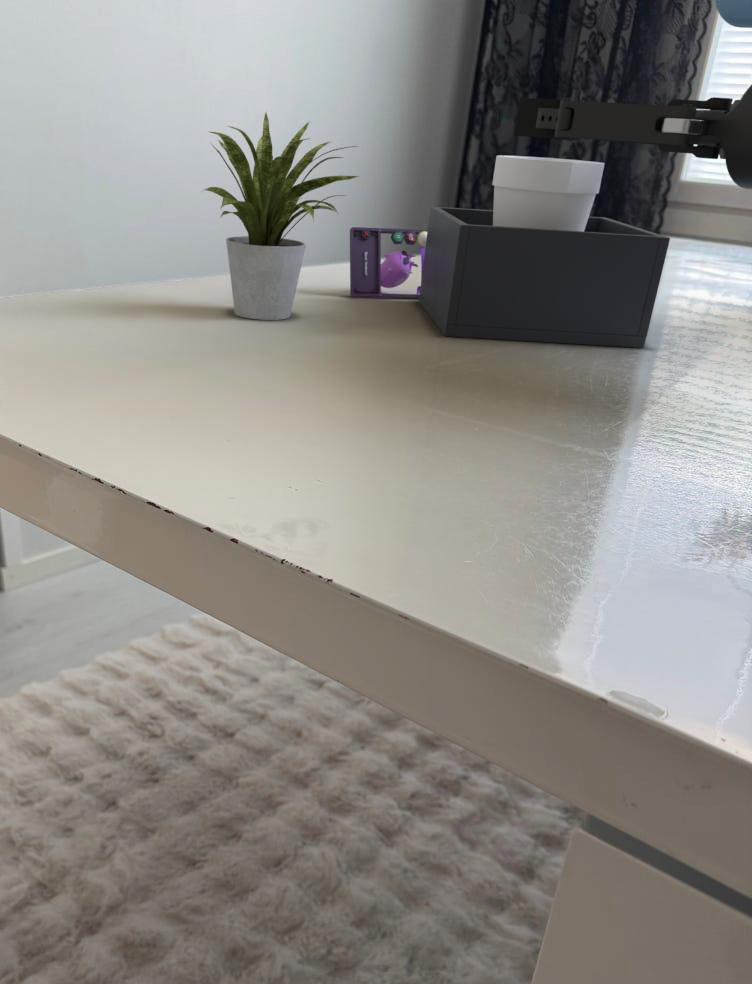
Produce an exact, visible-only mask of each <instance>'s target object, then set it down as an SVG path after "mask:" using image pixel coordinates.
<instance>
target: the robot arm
mask: <svg viewBox="0 0 752 984" xmlns="http://www.w3.org/2000/svg"><path fill="white" fill-rule="evenodd" d="M714 3H715V7H716V8H715V9H716V10H717V12H718V14H719V16H720V17H721V18H722V19H723V21H724V22H726V23H727V24H728V25H730V26H732V27H735V28H741V29H743V28H745V29H752V0H714ZM582 95H583V90H582V89H573V93H572V97H571V98H568V97H567V98H565V99H564V98H563V99H562V98H561V99H560V98H532V97H531V98H530V97H520V98H519V100H518V105H517V111H516V112H517V113H516V118H515V125H514V130H513V136H514V137H528V138H539V139H540V138H542V139H555V140H556V139H557V140H562V141H566V140H569V141H579V140H593V141H607V142H620V143H621V142H624V143H627V144H628V143H630V144H641V145H642V144H643V145H657V147H658V149H659V150H660V151H661V152H665V153H677V154H678V153H679V154H691V155H693V156H694V157H695V158H697V159H710V160H719V159H720V160H725V166H726V169H727V172H728V175H729V177H730V179H731V180H732V181H733V183H734V184H735V185H737V186H738V187H740V188H742V189H745V190H750V191H751V190H752V84H750V86H749V87H748V88H747V90H746V91H745V92H744V93H743V94H742V96H741V98H740V99H734V98H731V97H710V98H708V99H706V100H695V99H680V98H679V99H677V98H675V99H671V100H670V101H669V102H668V103H667V104H665V105H664V104H663V105H662V104H642V103H641V104H640V103H624V102H623V103H621V102H605V101H603V102H601V101H587V100H586V99H585V100H584V99H582ZM733 100H734V101H733Z"/></svg>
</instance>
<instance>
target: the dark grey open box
mask: <svg viewBox="0 0 752 984" xmlns="http://www.w3.org/2000/svg"><path fill="white" fill-rule="evenodd" d="M427 225H428V226H427V230H428V232H427V239H426V247H425V255H424V263H423V271H422V279H421V278H420V286H421V287H420V293H419V294H420V295H419V298H418V302H419V304H420V305H421V306H422V307H423V309H424V310H425V311H426V313H427V314H428V316H429V318H431V320H432V321H433V322H434V324H435V325H436V326H437V327H438V329H439V331H440V332H441V333H442V334H443V335H444V336H445V337H451V338H452V337H453V338H467V339H468V338H469V339H470V338H471V339H485V340H503V341H519V342H535V343H536V342H537V343H551V344H552V343H553V344H570V345H587V346H602V347H616V348H617V347H618V348H636V349H644V348H645V345H646V340H647V336H648V332H649V328H650V323H651V319H652V315H653V312H654V307H655V303H656V300H657V299H656V298H657V294H658V290H659V286H660V282H661V278H662V274H663V269H664V266H665V261H666V257H667V253H668V250H669V246H670V240H671V237H669V236H665V235H662V234H659V233H656V232H653V231H649V230H646V229H643V228H641V227H637V226H634V225H631V224H628V223H625V222H621V221H619V220H615V219H613V218H609V217H606V216H605V217H603V216H589V218H588V221H587V224H586V227H585V230H584V232H582V231H566V230H550V229H534V228H518V227H502V226H493V209H492V210H491V209H476V208H461V207H444V206H430V210H429V217H428V223H427Z"/></svg>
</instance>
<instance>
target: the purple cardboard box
mask: <svg viewBox="0 0 752 984" xmlns="http://www.w3.org/2000/svg"><path fill="white" fill-rule="evenodd" d="M427 232H428V229H412V228H411V229H410V228H386V227H385V228H384V227H357V226H352V227H351V228H349V288H350V289H349V293H350V294H349V295H350V297H352V298H382V299H383V298H387V299H388V298H390V299H419V295H420V287H421V285H418V286H417V287H416V288H417V289H416V293H382V288H386V289H392V288H396V287H398V286H400V285H402V284H404V283H405V282H406V281H407V280H408V279H409V277H410V275H411V274H413V273H414V272H413V271H412V268H413V267H415V268H419V265H418V264H417V263H416V262H414V261H412V260H411V259H412V258H416V255H415V254H413V252H409V253H408V251H406V250H395V251H393V252H391V253H389V254H385V253H384V254H383V256H384V257H385V259H384V260H383V261H382V255H381V253H382V252H381V250H382V249H381V248H382V247H381V246H382V245H381V240H382V238H381V237H382V234H388V235H390V240H391V241H392V244H393V245H402V244H403V242H405V245H408V246H409V245H411V246H414V245H415V244H416V242H417V243H418V245H419V247H420V248H419V250H420V260H421V261H420V262H421V263H420V265H421V267H420V268H421V269H420V271H421V274H420V280H421V279H422V271H423V263H424V255H425V247H426V239H427ZM381 261H382V262H381Z"/></svg>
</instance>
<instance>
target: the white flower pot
mask: <svg viewBox="0 0 752 984" xmlns="http://www.w3.org/2000/svg"><path fill="white" fill-rule="evenodd" d="M605 164H606V163H605V162H600V161H591V160H590V161H589V160H579V159H568V158H556V157H540V156H523V155H522V156H521V155H501V154H499V155H496V156H495V165H494V170H493V178H492V183H491V185H492V186H493V209H492V210H493V226H502V227H518V228H534V229H550V230H566V231H582V232H584V230H585V227H586V224H587V221H588V218H589V217H590V214H591V211H592V208H593V206H594V201H595V198H596V195H597V194H599V193H600V189H601V184H602V178H603V172H604V170H605Z"/></svg>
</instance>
